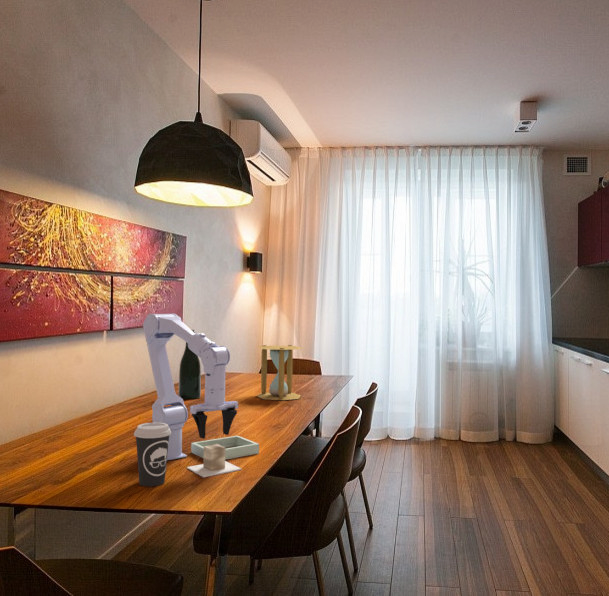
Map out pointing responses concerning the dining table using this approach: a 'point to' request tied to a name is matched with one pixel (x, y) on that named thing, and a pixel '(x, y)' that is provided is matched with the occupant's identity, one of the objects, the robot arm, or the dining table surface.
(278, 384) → the hourglass
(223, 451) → the ash block
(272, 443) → the dining table surface
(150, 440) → the coffee cup
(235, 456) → the pale grey-green open frame
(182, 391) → the dark green wine bottle
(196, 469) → the white mat
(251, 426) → the dining table surface
